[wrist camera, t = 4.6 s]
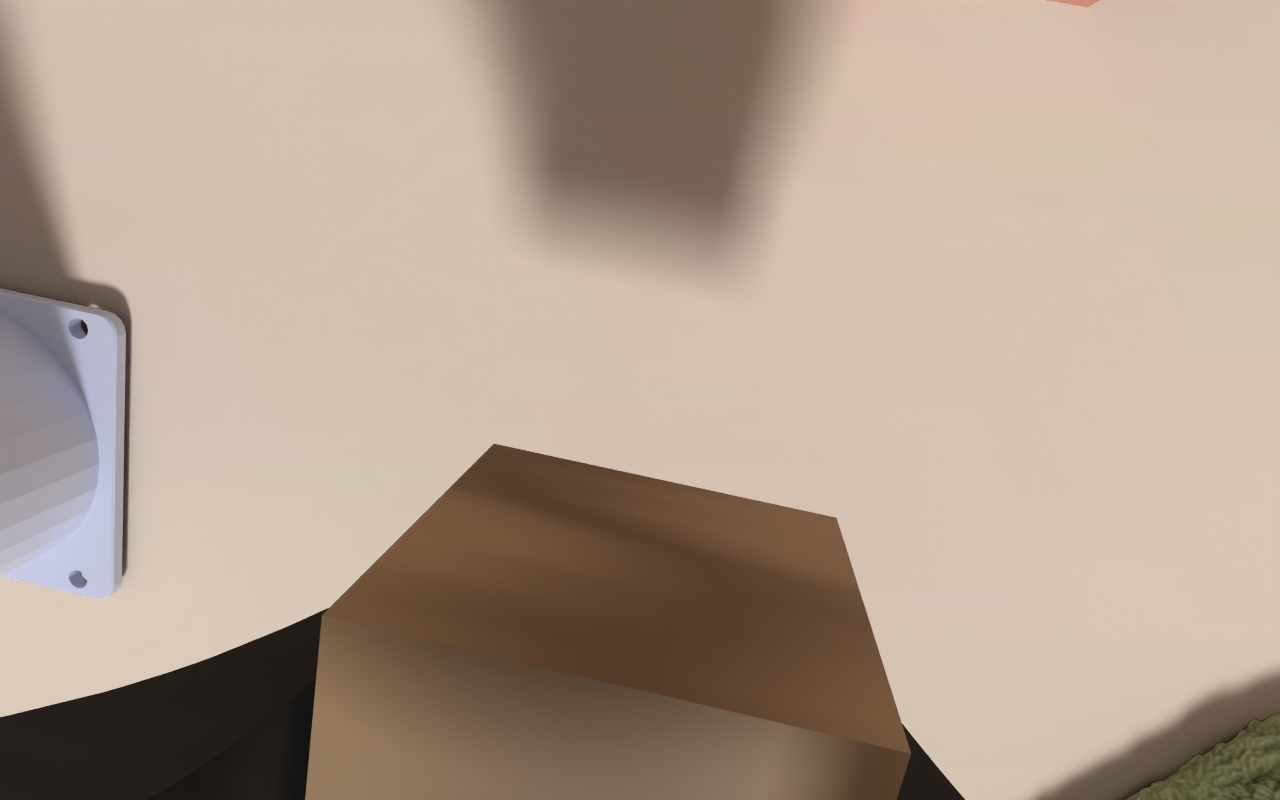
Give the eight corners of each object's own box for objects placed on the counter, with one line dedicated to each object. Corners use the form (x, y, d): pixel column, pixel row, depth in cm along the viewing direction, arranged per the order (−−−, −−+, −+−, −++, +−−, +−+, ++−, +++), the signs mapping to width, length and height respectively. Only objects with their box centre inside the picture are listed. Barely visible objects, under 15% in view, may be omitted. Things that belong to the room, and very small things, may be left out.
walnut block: (452, 734, 13) (282, 1052, 8) (493, 443, 12) (321, 614, 7) (757, 808, 13) (772, 1187, 8) (836, 517, 11) (910, 753, 6)
